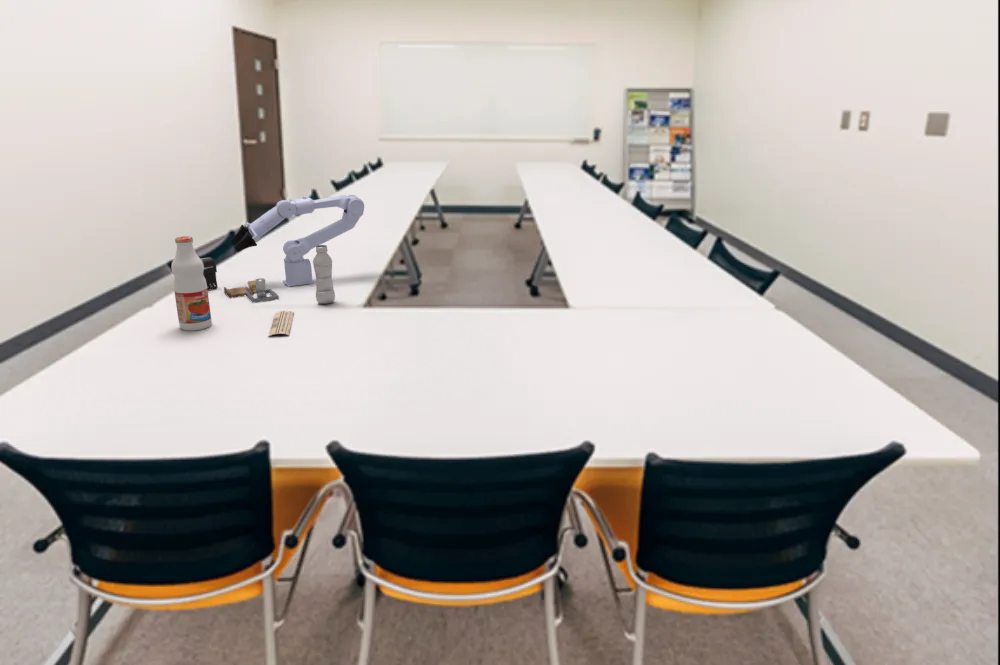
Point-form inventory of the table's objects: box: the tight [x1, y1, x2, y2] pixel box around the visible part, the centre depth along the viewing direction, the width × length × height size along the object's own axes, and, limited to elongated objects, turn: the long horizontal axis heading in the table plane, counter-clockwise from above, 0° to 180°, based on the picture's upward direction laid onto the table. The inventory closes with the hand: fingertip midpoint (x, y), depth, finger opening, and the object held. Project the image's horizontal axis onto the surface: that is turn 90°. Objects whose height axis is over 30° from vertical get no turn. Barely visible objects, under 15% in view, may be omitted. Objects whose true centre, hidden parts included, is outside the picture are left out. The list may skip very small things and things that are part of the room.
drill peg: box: [254, 277, 268, 298], centre depth 259 cm, size 3×3×6 cm
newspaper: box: [267, 310, 295, 338], centre depth 230 cm, size 24×7×2 cm, turn 11°
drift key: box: [247, 280, 257, 293], centre depth 268 cm, size 3×6×3 cm, turn 31°
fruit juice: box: [171, 235, 213, 332], centre depth 225 cm, size 9×9×28 cm
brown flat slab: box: [223, 286, 249, 298], centre depth 265 cm, size 7×9×2 cm
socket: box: [244, 286, 280, 303], centre depth 263 cm, size 9×19×1 cm, turn 31°
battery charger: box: [200, 257, 218, 291], centre depth 269 cm, size 7×4×11 cm, turn 134°
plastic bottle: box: [312, 244, 336, 305], centre depth 250 cm, size 6×7×20 cm
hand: (234, 246), depth 267 cm, fingers open, 7 cm apart
